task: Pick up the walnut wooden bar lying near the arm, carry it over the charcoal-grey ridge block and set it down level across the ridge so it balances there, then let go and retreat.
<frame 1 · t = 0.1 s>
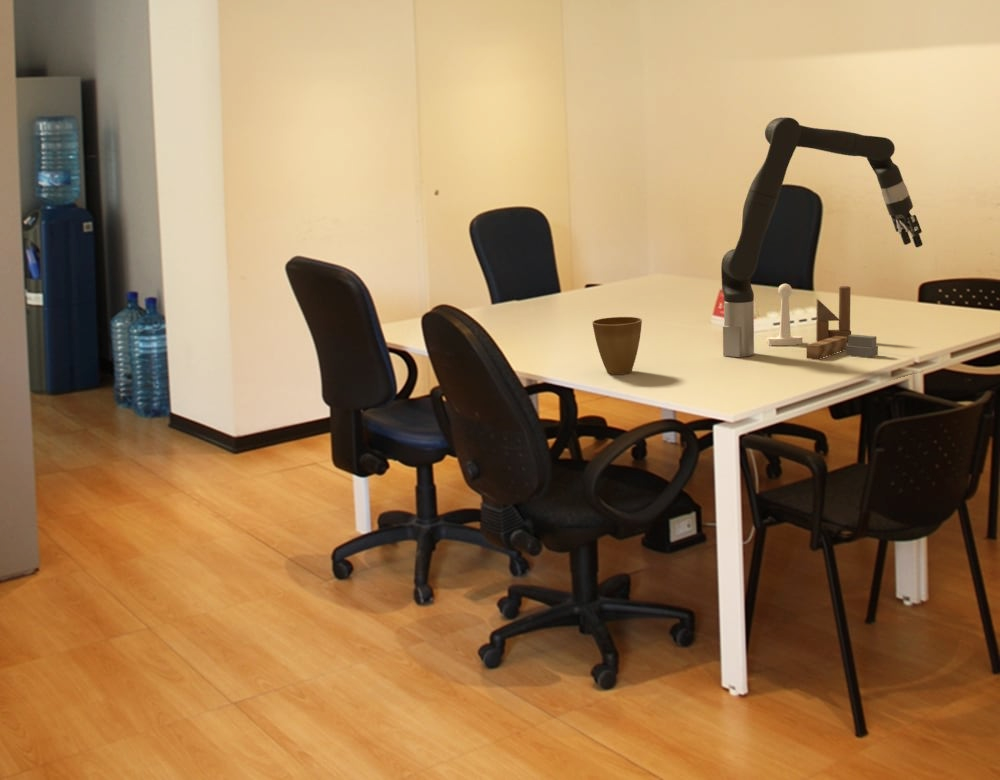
hand: (913, 245, 394), 31 cm above the table, tool tilted 20°, fingers open, 8 cm apart
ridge: (861, 355, 385), on the table
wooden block: (833, 342, 410), on the table
plant pot: (618, 373, 378), on the table
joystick: (783, 344, 410), on the table
walnut bar: (826, 355, 390), on the table
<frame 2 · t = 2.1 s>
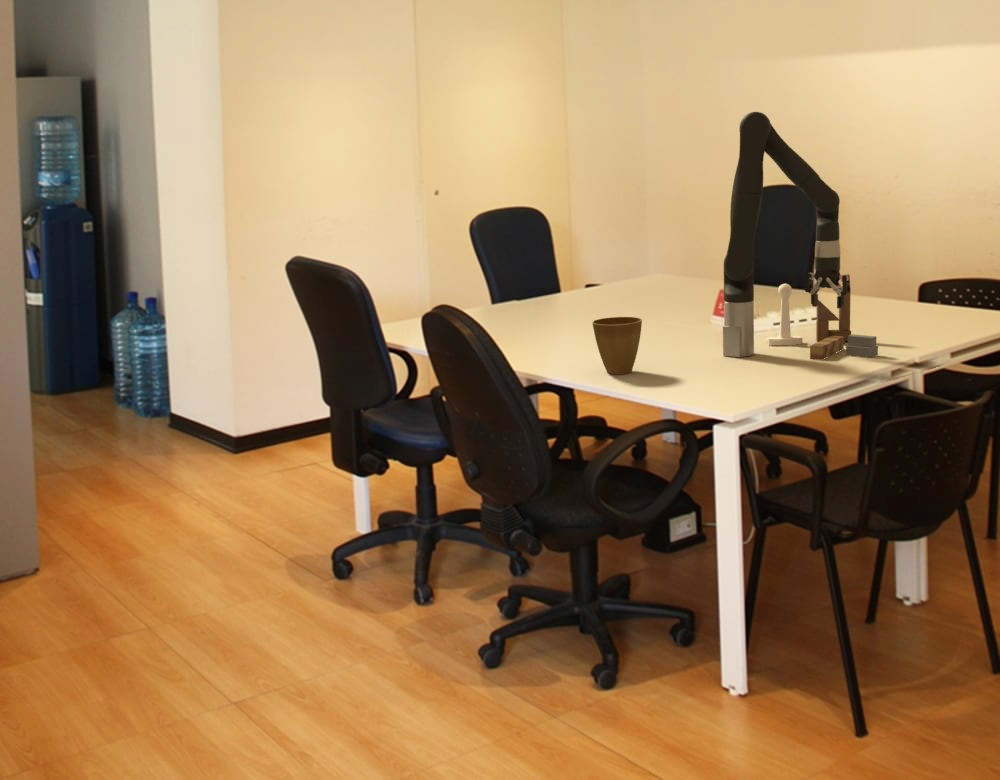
hand: (827, 307, 387), 15 cm above the table, tool pointing down, fingers open, 8 cm apart
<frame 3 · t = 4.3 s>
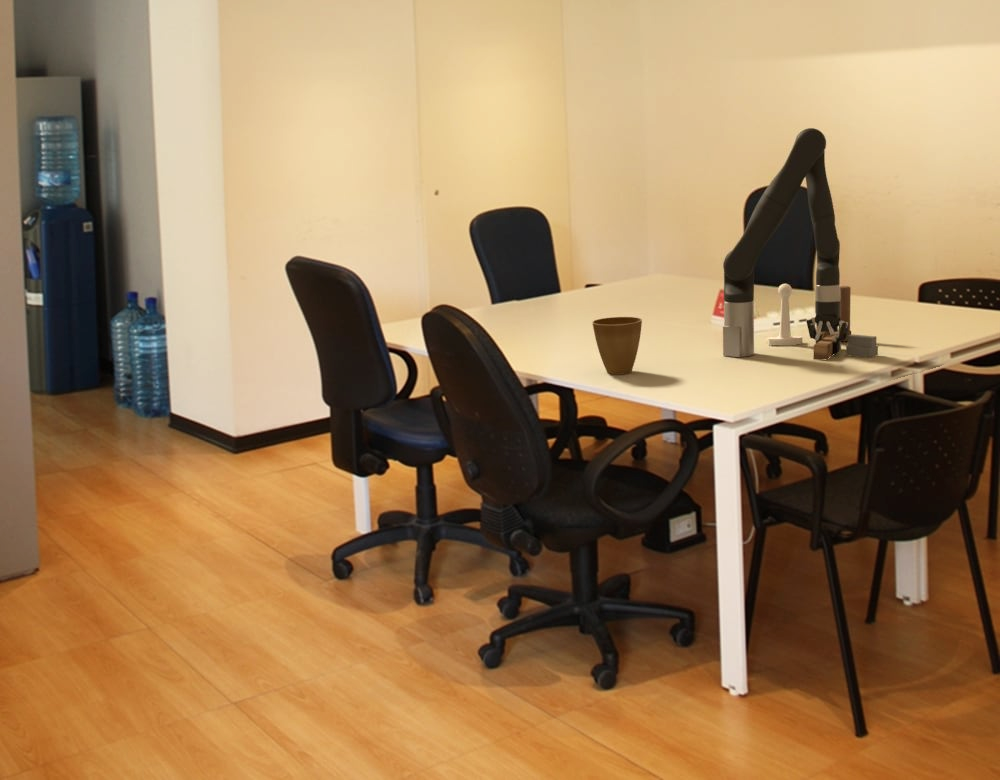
hand: (827, 352, 390), 0 cm above the table, tool pointing down, fingers closed on walnut bar, 4 cm apart
walnut bar: (827, 354, 390), on the table, touching gripper
everything else where it was.
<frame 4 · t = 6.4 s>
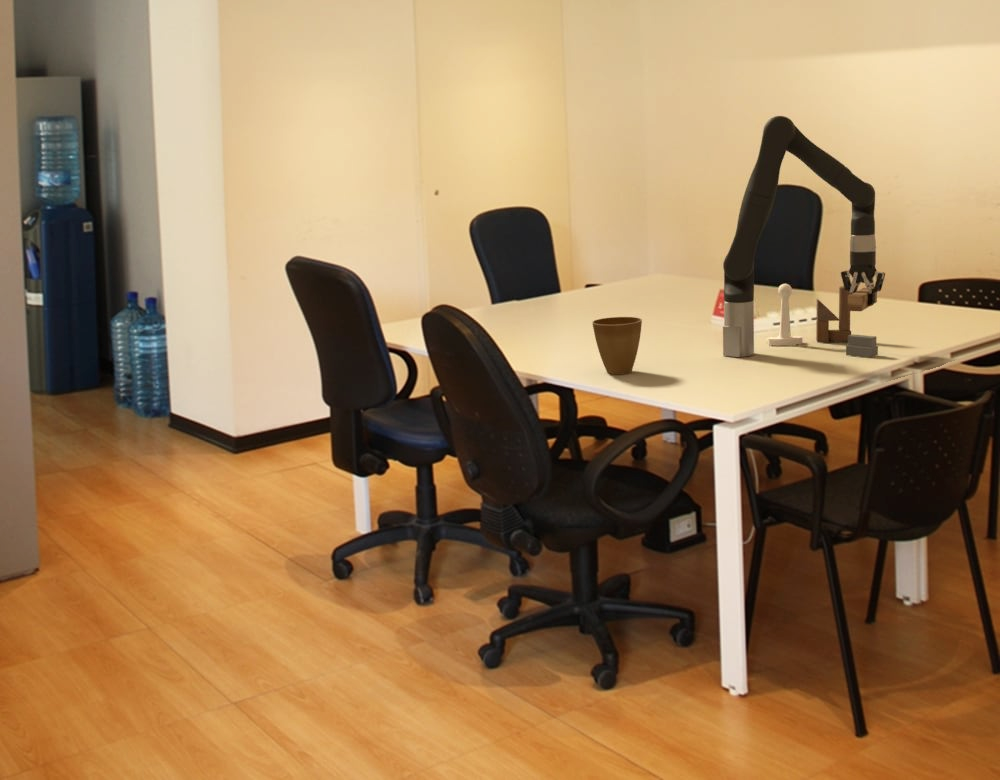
hand: (862, 304, 382), 16 cm above the table, tool pointing down, fingers closed on walnut bar, 4 cm apart
walnut bar: (862, 306, 382), point 15 cm above the table, touching gripper
everything else where it was.
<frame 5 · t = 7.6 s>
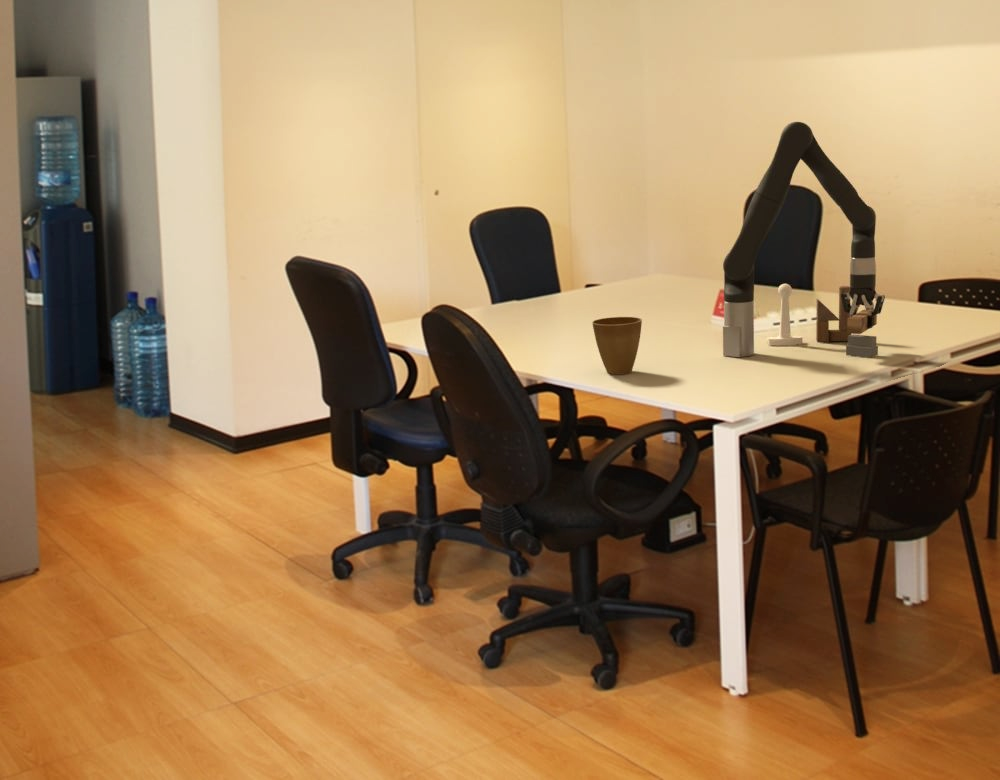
hand: (862, 327, 383), 9 cm above the table, tool pointing down, fingers closed on walnut bar, 4 cm apart
walnut bar: (862, 328, 383), point 8 cm above the table, touching gripper
everything else where it was.
when the fingers open (7 cm above the table, at t = 8.7 s): walnut bar stays where it is, resting on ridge.
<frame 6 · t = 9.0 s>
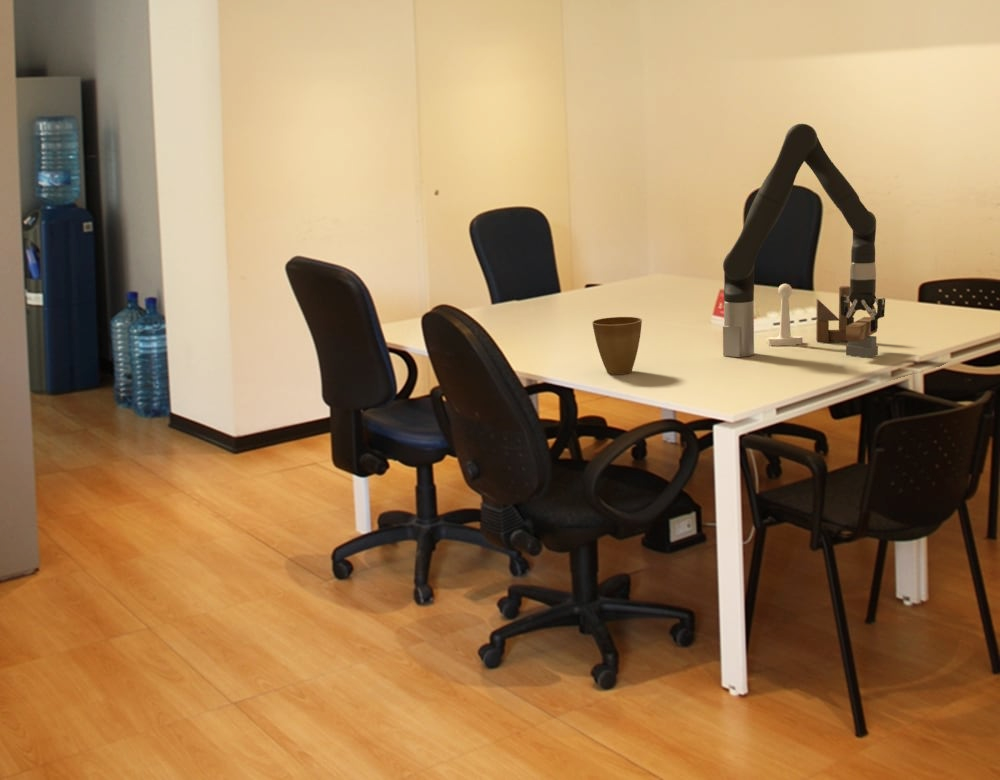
hand: (862, 330, 384), 8 cm above the table, tool pointing down, fingers open, 7 cm apart
walnut bar: (861, 336, 384), point 6 cm above the table, touching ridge
everything else where it was.
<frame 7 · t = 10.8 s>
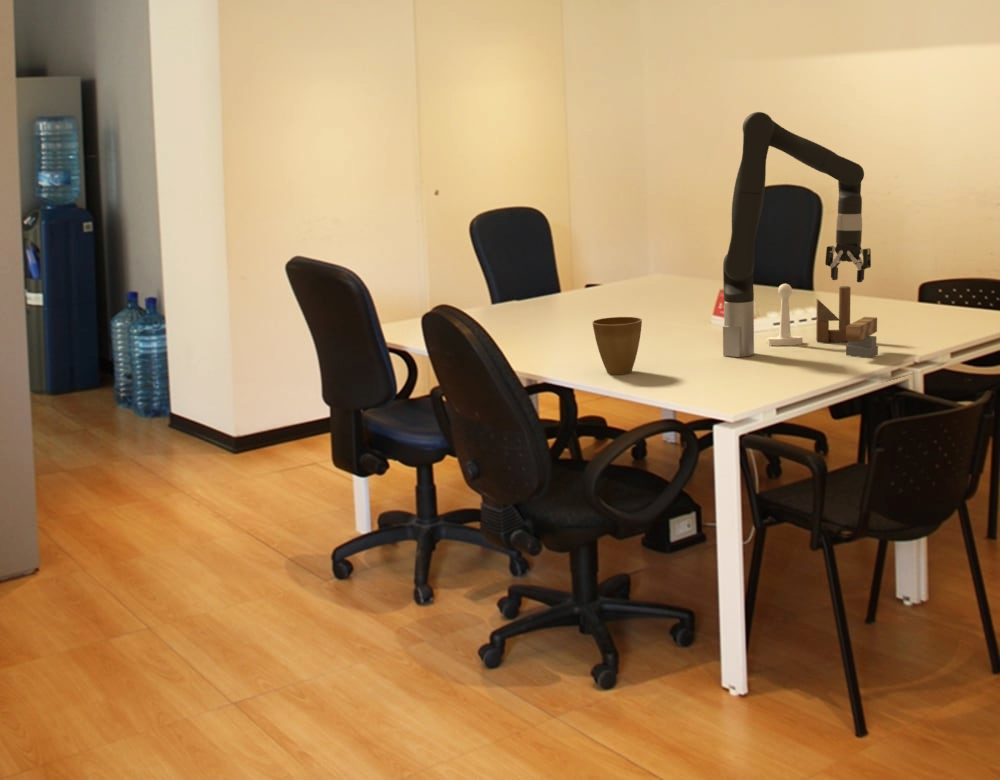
hand: (847, 281, 386), 23 cm above the table, tool pointing down, fingers open, 8 cm apart
nothing on the table moved.
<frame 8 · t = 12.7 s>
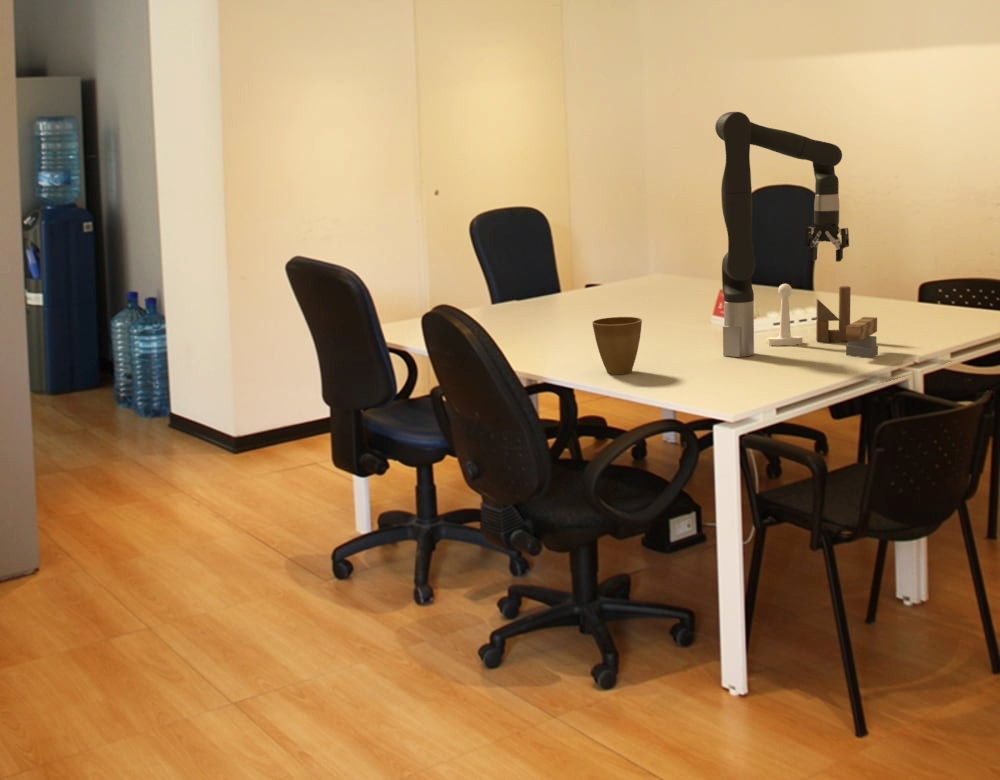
hand: (826, 260, 393), 28 cm above the table, tool pointing down, fingers open, 8 cm apart
nothing on the table moved.
at the end: walnut bar 0.1 cm from the target spot, point 6.0 cm above the table; walnut bar touching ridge; walnut bar tilted 0° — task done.
